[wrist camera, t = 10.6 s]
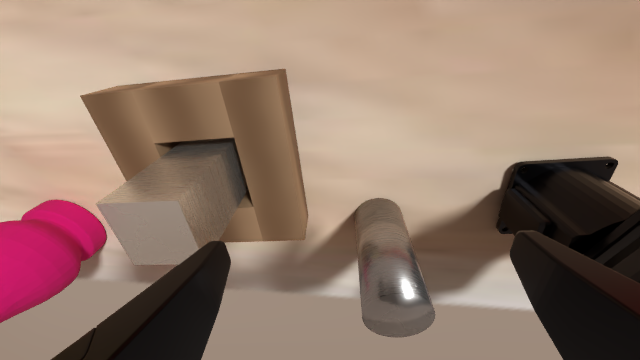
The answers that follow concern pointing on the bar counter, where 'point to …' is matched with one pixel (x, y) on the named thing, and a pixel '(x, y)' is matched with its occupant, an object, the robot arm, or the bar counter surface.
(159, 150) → the bore block
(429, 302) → the round bit
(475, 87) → the bar counter surface
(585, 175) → the robot arm
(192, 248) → the square bit
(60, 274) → the pepper mill
